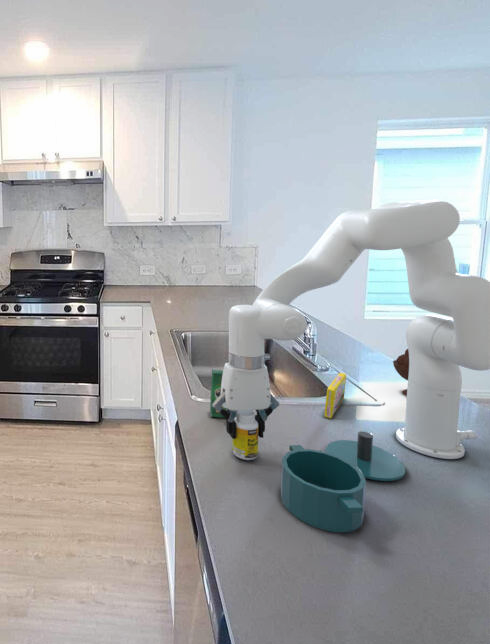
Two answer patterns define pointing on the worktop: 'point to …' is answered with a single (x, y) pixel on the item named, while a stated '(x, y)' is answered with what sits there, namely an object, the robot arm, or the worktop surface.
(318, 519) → the pot
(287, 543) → the worktop surface
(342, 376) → the candy box
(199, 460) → the worktop surface
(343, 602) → the worktop surface
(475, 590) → the worktop surface
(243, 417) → the supplement bottle
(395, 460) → the lid
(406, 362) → the ice cream bowl
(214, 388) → the coffee box
